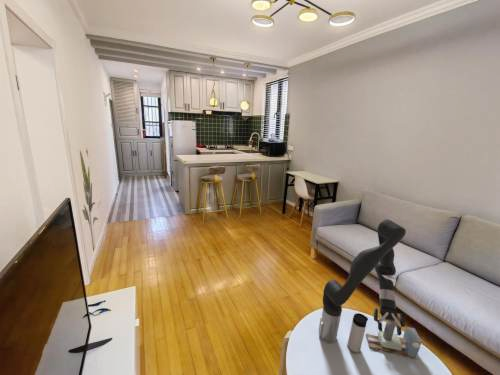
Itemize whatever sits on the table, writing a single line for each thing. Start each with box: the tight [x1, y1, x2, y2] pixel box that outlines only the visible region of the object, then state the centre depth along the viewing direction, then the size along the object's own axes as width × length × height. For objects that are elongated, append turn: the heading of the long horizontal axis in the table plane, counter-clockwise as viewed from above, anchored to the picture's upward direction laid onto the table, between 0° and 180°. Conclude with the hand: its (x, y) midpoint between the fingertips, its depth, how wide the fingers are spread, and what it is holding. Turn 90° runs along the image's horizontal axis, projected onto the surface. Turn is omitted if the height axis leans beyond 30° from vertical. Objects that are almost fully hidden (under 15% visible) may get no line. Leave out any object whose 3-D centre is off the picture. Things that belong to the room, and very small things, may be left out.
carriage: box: [377, 319, 402, 351], centre depth 123 cm, size 9×7×13 cm
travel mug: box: [346, 312, 369, 354], centre depth 120 cm, size 6×7×20 cm
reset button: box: [398, 336, 407, 345], centre depth 122 cm, size 3×4×4 cm
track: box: [365, 333, 418, 360], centre depth 125 cm, size 22×8×2 cm, turn 77°
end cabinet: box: [402, 326, 423, 357], centre depth 121 cm, size 4×8×10 cm, turn 167°
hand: (389, 333), depth 121 cm, fingers open, 8 cm apart
